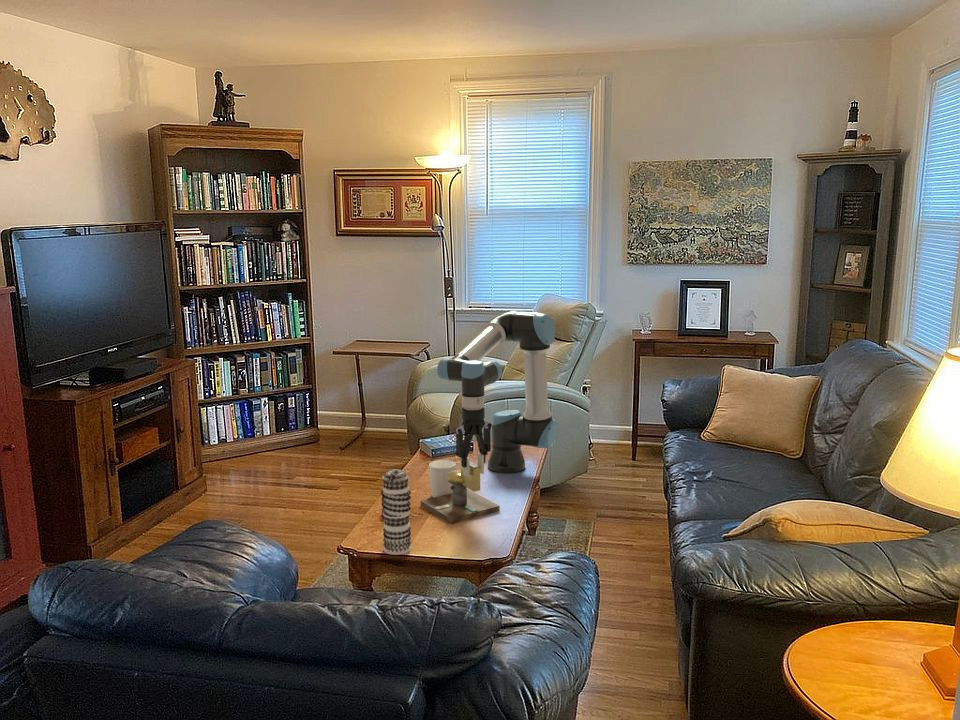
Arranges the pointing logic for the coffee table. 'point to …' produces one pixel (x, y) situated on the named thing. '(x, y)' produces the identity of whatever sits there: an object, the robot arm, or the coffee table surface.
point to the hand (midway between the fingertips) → (473, 474)
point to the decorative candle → (396, 512)
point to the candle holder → (440, 477)
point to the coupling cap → (468, 482)
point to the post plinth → (459, 505)
